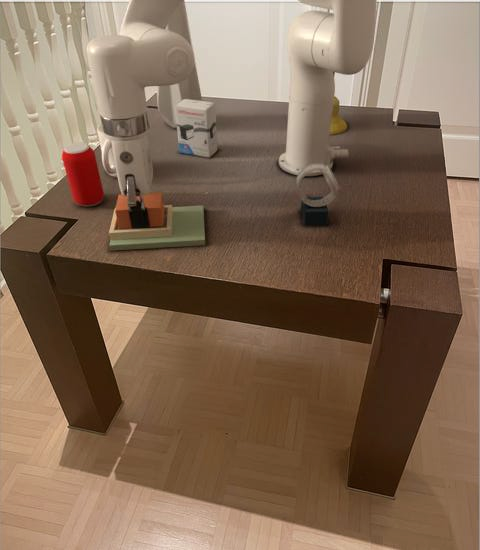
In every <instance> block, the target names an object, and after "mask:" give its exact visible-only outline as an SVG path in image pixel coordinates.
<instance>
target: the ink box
mask: <svg viewBox="0 0 480 550" xmlns="http://www.w3.org/2000/svg"><path fill="white" fill-rule="evenodd" d="M216 110H217V109H216V103H214V102H211V101H204V100H202V101H197V100H190V99H184V100H182V101H181V102H180V103H178V104H177V105H175V112H176V122H177V128H176V130H177V131H176V132H177V139H178V141H177V142H178V150H179V151H178V152H179V154H187V155H192V156H199V157H204V158H211V157H212V156H213V155H214V154H215V153H216V152H217V151H218V131H217V111H216Z"/></svg>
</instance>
